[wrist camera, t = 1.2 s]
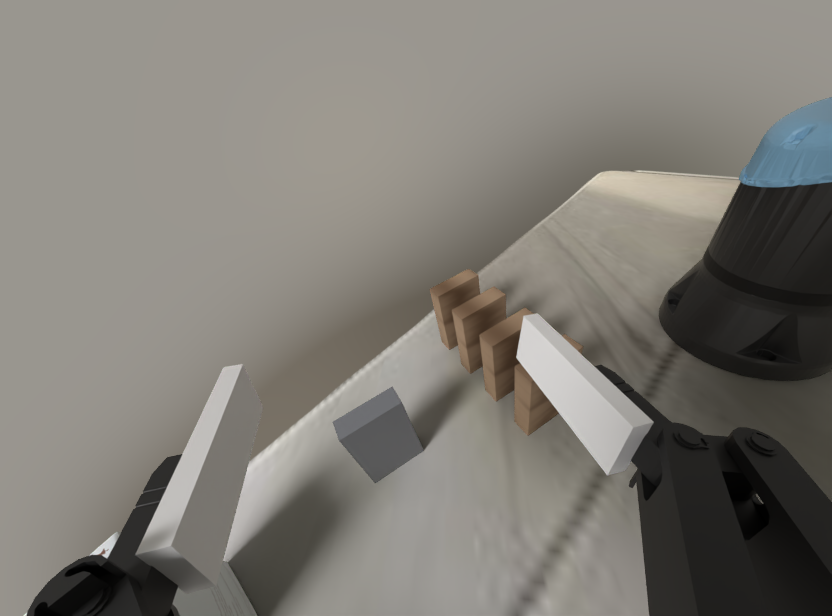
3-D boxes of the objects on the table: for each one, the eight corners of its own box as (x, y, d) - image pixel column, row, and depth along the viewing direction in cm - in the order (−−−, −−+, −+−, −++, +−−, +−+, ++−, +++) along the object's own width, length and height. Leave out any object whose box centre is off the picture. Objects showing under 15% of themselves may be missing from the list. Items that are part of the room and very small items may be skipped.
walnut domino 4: (554, 392, 34) (564, 333, 28) (569, 405, 33) (583, 346, 26) (514, 421, 33) (514, 366, 26) (527, 435, 31) (531, 381, 25)
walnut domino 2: (496, 342, 42) (493, 286, 35) (506, 351, 40) (505, 294, 34) (461, 363, 40) (451, 309, 34) (470, 373, 39) (462, 319, 32)
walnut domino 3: (523, 365, 38) (525, 307, 32) (535, 375, 37) (539, 317, 30) (485, 389, 37) (479, 334, 30) (496, 401, 35) (492, 346, 29)
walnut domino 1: (475, 322, 45) (468, 268, 39) (483, 329, 44) (478, 275, 37) (442, 341, 44) (429, 289, 37) (449, 349, 42) (438, 296, 36)
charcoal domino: (415, 435, 34) (392, 386, 28) (423, 450, 33) (401, 402, 26) (368, 466, 33) (332, 421, 26) (375, 483, 31) (339, 440, 25)
